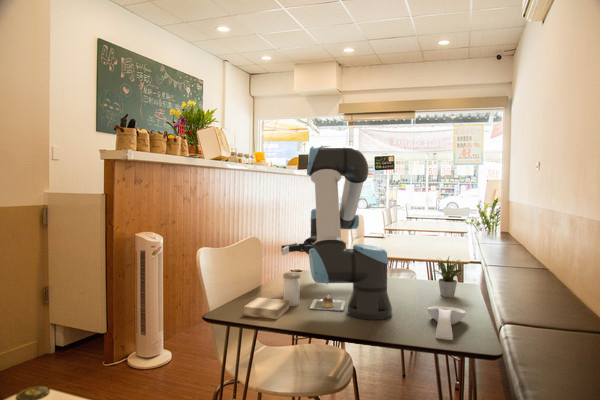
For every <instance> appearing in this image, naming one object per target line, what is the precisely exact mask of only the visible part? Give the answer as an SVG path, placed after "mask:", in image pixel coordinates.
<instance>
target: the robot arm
mask: <svg viewBox="0 0 600 400" xmlns="http://www.w3.org/2000/svg"><path fill="white" fill-rule="evenodd" d="M306 175H307V176H309V177H310V180H311V182H312V183H313V184H314V194H315V196H314V197H315V199H314V200H315V208H312V209H311V211H310V236H309V237H308V238H306V239H305V240H304V241H303V242H302V243H297V242H295V243H291V244H290V243H289V244H284V245H281V256H285V255H288V254H289V253H292V252H293V253H294V252H299V253H306V254H307V255H308V258H309V259H308V260H309V268H310V274H311V277H312V280H313V281H314V282H315V283H318V284H327V285H328V284H352V291H351V295H350V297H349V300H348V304H347V313H348V314H349V315H350V316H352V317H355V318H358V319H362V320H372V321H373V320H375V321H376V320H378V321H379V320H385V319H388V318H390V317H392V316H393V306H392V304H391V300H390V298H389V297H390V296H389V293H388V264H389V260H388V252H387V251H386V249H384V248H382V247H378V246H374V245H369V244H362V243H361V244H360V243H359V244H358V243H355V244H354V245H353V247H352V248H347V244H346V242H345V241H344V240H343V239H342V233H341V230H357V229H358V228H359V223H360V216H359V214H358V213H357V210H358V206H359V202H360V198H361V194H362V191H363V186H364V183H365V182H366V181H367V180H368V179H367V178H368V175H369V165H368V161H367V159H366V157H365V156H364V153H362V152H361V151H360V150H359V149H358V148H355V147H354V146H351V145H350V146H349V145H339V146H338V145H321V144H320V145H313V146H311V147H310V148H309V153H308V161H307V168H306ZM342 177H344V184H343V190H342V196H341V199H340V202H339V184H338V182H340V180H341V179H342Z"/></svg>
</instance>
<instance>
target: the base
mask: <svg viewBox="0 0 600 400" xmlns="http://www.w3.org/2000/svg"><path fill="white" fill-rule="evenodd" d="M289 309H290V306H289V300H283V299H278V298H269V297H256V298H255V299H253V300H252V301H250V302H248V303H247V304H246V305H244V306H243V316H244V317H245V316H247V317H255V318H256V317H257V318H264V319H272V320H273V319H274V320H278V319H279V318H280V317H282V315H284V314H285V313H286V312H287V311H288V310H289Z"/></svg>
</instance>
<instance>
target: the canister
mask: <svg viewBox="0 0 600 400" xmlns="http://www.w3.org/2000/svg"><path fill="white" fill-rule="evenodd" d="M282 278H283V284H282V285H283V288H282V289H283V299H282V300H289V307H296V306H300V304H301V303H300V293H301V292H300V288H301V286H300V282H301V281H300V280H301V279H300V278H301V274H300V273H299V272H285V273H282Z"/></svg>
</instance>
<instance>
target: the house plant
mask: <svg viewBox="0 0 600 400" xmlns="http://www.w3.org/2000/svg"><path fill="white" fill-rule="evenodd" d="M450 256H451V255H449V256H448V258H447V259H446V265H445V263H444V261H443V260H442V259H438V258H436V259H435V260H434V259H432V258H431V260H433V261H434V262H436V265H437V266H438V267H439V269H440V271H441V272H440V271H438V270H436V269H434V270H433V271H432V272H434V273H437V274H438V275H441V277H442V278H439V279H438V288H439V292H440V296H441V297H444V298H454V297H455V296H456V295H455V294H456V288H457V284H458V281H457V280H456V279H454V278H455V277H458V278H460V276H461V277H462V278H463V274H461V273H460V272H464V269H456V268H457V266H459V265H461V264H463V263H464V262H461V263H460V264H458V263H459V262H460V261H461V258H460V259H457V260H456V258H455V259H452V261H451V262H450V261H449V260H450ZM427 259H429V260H430V258H427ZM440 260H441V261H440ZM455 260H456V261H455ZM454 261H455V262H454ZM449 262H450V263H449ZM453 262H454V263H453Z"/></svg>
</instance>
